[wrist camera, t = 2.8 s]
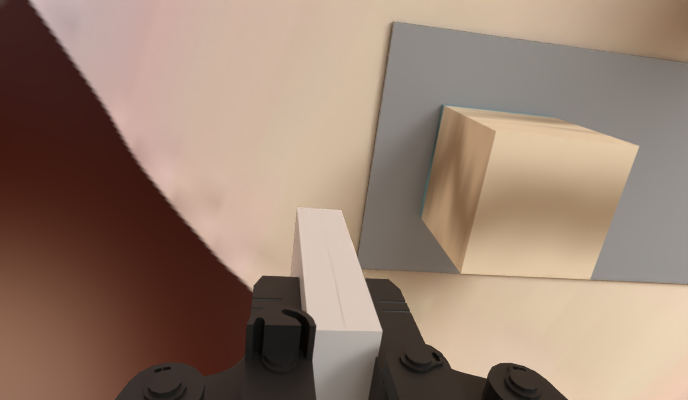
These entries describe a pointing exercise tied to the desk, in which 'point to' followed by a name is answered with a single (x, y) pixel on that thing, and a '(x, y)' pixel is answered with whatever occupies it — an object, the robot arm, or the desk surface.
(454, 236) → the block
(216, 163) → the desk surface
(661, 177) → the mat
